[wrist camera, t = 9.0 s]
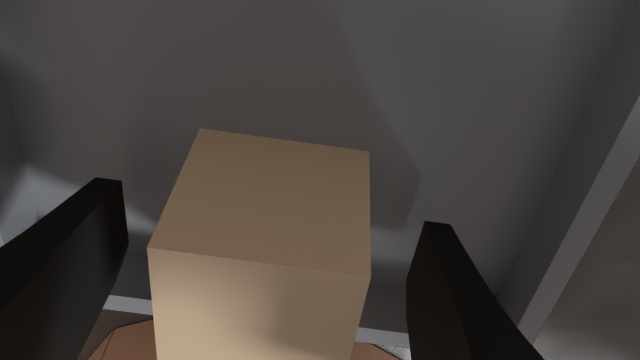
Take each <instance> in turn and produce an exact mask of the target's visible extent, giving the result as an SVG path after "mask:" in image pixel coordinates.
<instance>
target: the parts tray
mask: <svg viewBox="0 0 640 360" xmlns="http://www.w3.org/2000/svg"><path fill="white" fill-rule="evenodd" d="M200 128H202V129H209V130H217V131H224V132H231V133H238V134H246V135H253V136H260V137H268V138H275V139H282V140H290V141H297V142H304V143H312V144H319V145H326V146H333V147H341V148H348V149H355V150H363V151H369V158H370V240H371V279H370V283H369V287H368V291H367V295H366V298H365V302H364V306H363V310H362V314H361V318H360V322H359V326H358V330H357V334H356V337H355V341H356V342H363V343H371V344H379V345H387V346H394V347H402V348H410V344H409V336H408V328H407V320H406V279H407V275H408V272H409V269H410V266H411V263H412V259H413V256H414V253H415V250H416V247H417V243H418V240H419V237H420V234H421V231H422V227H423V224H424V221H431V222H438V223H446V224H450V225H451V226H452V228H453V229H454V231H455V233H456V234H457V236H458V238H459V239H460V241H461V243H462V245H463V246H464V248H465V250H466V252H467V253H468V255H469V257H470V258H471V260H472V262H473V263H474V265H475V266H476V268H477V270H478V271H479V273H480V275H481V276H482V278H483V279H484V281H485V282H486V284H487V285H488V287H489V288H490V290H491V291H492V293H493V294H494V296H495V297H496V299H497V300H498V302H499V303H500V304H501V306H502V307H503V309H504V310H505V312H506V313H507V314H508V316H509V317H510V318H511V320H512V321H513V322H514V324H515V325H516V326H517V328H518V329H519V330H520V331H521V333H522V334H523V335H524V337H525V338H526V339H527V340H528V341H529V343H530V344H531V345H532V344H533V343H534V341H535V339H536V337H537V336H538V334H539V332H540V330H541V329H542V327H543V325H544V323H545V322H546V320H547V318H548V316H549V315H550V313H551V311H552V309H553V308H554V306H555V304H556V302H557V301H558V299H559V297H560V295H561V294H562V292H563V290H564V288H565V287H566V285H567V283H568V281H569V280H570V278H571V276H572V274H573V273H574V271H575V269H576V267H577V266H578V264H579V262H580V260H581V259H582V257H583V255H584V253H585V252H586V250H587V248H588V246H589V245H590V243H591V241H592V239H593V238H594V236H595V234H596V232H597V231H598V229H599V227H600V225H601V223H602V222H603V220H604V218H605V216H606V215H607V213H608V211H609V209H610V208H611V206H612V204H613V202H614V201H615V199H616V197H617V195H618V194H619V192H620V190H621V188H622V187H623V185H624V183H625V181H626V180H627V178H628V176H629V174H630V173H631V171H632V169H633V167H634V166H635V164H636V162H637V160H638V159H639V157H640V0H0V247H1V246H3V245H4V244H6V243H7V242H9V241H10V240H12V239H13V238H15V237H16V236H18V235H19V234H21V233H22V232H24V231H25V230H26V229H28V228H29V227H30V226H32V225H33V224H34V223H36V222H37V221H39V220H40V219H41V218H43V217H44V216H45V215H47V214H48V213H49V212H51V211H52V210H53V209H55V208H56V207H57V206H59V205H60V204H61V203H62V202H64V201H65V200H66V199H68V198H69V197H70V196H71V195H73V194H74V193H75V192H77V191H78V190H79V189H81V188H82V187H83V186H85V185H86V184H87V183H89V182H90V181H91V180H93V179H94V178H95V177H99V178H106V179H114V180H122V187H123V196H124V204H125V213H126V221H127V229H128V238H129V246H128V249H127V252H126V255H125V258H124V261H123V264H122V266H121V269H120V272H119V275H118V277H117V280H116V282H115V284H114V287H113V289H112V291H111V293H110V295H109V297H108V299H107V301H106V303H105V305H104V307H103V309H108V310H116V311H123V312H131V313H139V314H147V315H153V308H152V298H151V287H150V276H149V265H148V254H147V246H148V244H149V242H150V240H151V237H152V235H153V233H154V231H155V228H156V226H157V224H158V222H159V219H160V217H161V215H162V213H163V210H164V208H165V206H166V203H167V201H168V199H169V197H170V194H171V192H172V190H173V188H174V185H175V183H176V181H177V179H178V176H179V174H180V172H181V170H182V167H183V165H184V163H185V161H186V158H187V156H188V154H189V152H190V149H191V147H192V145H193V143H194V140H195V138H196V136H197V134H198V131H199V129H200Z"/></svg>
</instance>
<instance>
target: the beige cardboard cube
mask: <svg viewBox="0 0 640 360" xmlns="http://www.w3.org/2000/svg"><path fill="white" fill-rule="evenodd" d="M147 254H148V265H149V276H150V287H151V298H152V308H153V319H154V330H155V341H156V352H157V360H350V357H351V353H352V349H353V345H354V341H355V337H356V334H357V330H358V326H359V322H360V318H361V314H362V310H363V306H364V302H365V298H366V295H367V291H368V287H369V283H370V279H371V240H370V158H369V151H363V150H355V149H348V148H341V147H333V146H326V145H319V144H312V143H304V142H297V141H290V140H282V139H275V138H268V137H260V136H253V135H246V134H238V133H231V132H224V131H217V130H209V129H202V128H200V129H199V131H198V134H197V136H196V138H195V140H194V143H193V145H192V147H191V149H190V152H189V154H188V156H187V158H186V161H185V163H184V165H183V167H182V170H181V172H180V174H179V176H178V179H177V181H176V183H175V185H174V188H173V190H172V192H171V194H170V197H169V199H168V201H167V203H166V206H165V208H164V210H163V213H162V215H161V217H160V219H159V222H158V224H157V226H156V228H155V231H154V233H153V235H152V237H151V240H150V242H149V244H148V246H147Z"/></svg>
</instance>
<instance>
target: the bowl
mask: <svg viewBox="0 0 640 360" xmlns="http://www.w3.org/2000/svg"><path fill="white" fill-rule="evenodd" d="M88 360H157V352H156V341H155V330H154V319H152V320H148V321H144V322H140V323H136V324H132V325H128V326H124V327H120V328H116V329H115V331H114V330H113V331H112V332H111V333H110V334H109V335H108V336H107V338H106V339H105V340H104V341H103V342H102V343H101V345H100V346H99V347H98V348H97V349H96V350H95V352H94V353H93V354H92V355H91V356H90V357H89V359H88ZM350 360H400V359H398V358H396V357H394V356H392V355H390V354H389V353H387V352H385V351H383V350H381V349H379V348H377V347H376V346H374V345H372V344H370V343H363V342H356V341H354V345H353V349H352V353H351V357H350Z"/></svg>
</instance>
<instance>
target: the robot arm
mask: <svg viewBox="0 0 640 360" xmlns="http://www.w3.org/2000/svg"><path fill="white" fill-rule="evenodd" d="M128 246H129V238H128V229H127V221H126V213H125V204H124V196H123V187H122V180H114V179H106V178H99V177H95V178H94V179H93V180H91V181H90V182H89V183H87V184H86V185H85V186H83V187H82V188H81V189H79V190H78V191H77V192H75V193H74V194H73V195H71V196H70V197H69V198H68V199H66V200H65V201H64V202H62V203H61V204H60V205H59V206H57V207H56V208H55V209H53V210H52V211H51V212H49V213H48V214H47V215H45V216H44V217H43V218H41V219H40V220H39V221H37V222H36V223H34V224H33V225H32V226H30V227H29V228H28V229H26V230H25V231H24V232H22V233H21V234H19V235H18V236H16V237H15V238H13V239H12V240H10V241H9V242H7V243H6V244H4V245H3V246H1V247H0V360H76V359H77V358H78V356H79V354H80V352H81V350H82V348H83V346H84V344H85V342H86V340H87V338H88V336H89V334H90V332H91V330H92V328H93V326H94V324H95V322H96V320H97V318H98V316H99V314H100V312H101V311H102V309H103V307H104V305H105V303H106V301H107V299H108V297H109V295H110V293H111V291H112V289H113V287H114V284H115V282H116V280H117V277H118V275H119V272H120V269H121V266H122V264H123V261H124V258H125V255H126V252H127V249H128ZM406 320H407V328H408V336H409V344H410V352H411V359H412V360H544V359H543V357H542V356H541V355H540V354H539V353H538V352H537V351H536V349H535V348H534V347H533V346H532V345H531V344H530V343H529V341H528V340H527V339H526V338H525V337H524V335H523V334H522V333H521V331H520V330H519V329H518V328H517V326H516V325H515V324H514V322H513V321H512V320H511V318H510V317H509V316H508V314H507V313H506V312H505V310H504V309H503V307H502V306H501V304H500V303H499V302H498V300H497V299H496V297H495V296H494V294H493V293H492V291H491V290H490V288H489V287H488V285H487V284H486V282H485V281H484V279H483V278H482V276H481V275H480V273H479V271H478V270H477V268H476V266H475V265H474V263H473V262H472V260H471V258H470V257H469V255H468V253H467V252H466V250H465V248H464V246H463V245H462V243H461V241H460V239H459V238H458V236H457V234H456V233H455V231H454V229H453V228H452V226H451V225H450V224H446V223H438V222H431V221H424V224H423V227H422V231H421V234H420V237H419V240H418V243H417V247H416V250H415V253H414V256H413V259H412V263H411V266H410V269H409V272H408V275H407V279H406Z"/></svg>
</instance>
